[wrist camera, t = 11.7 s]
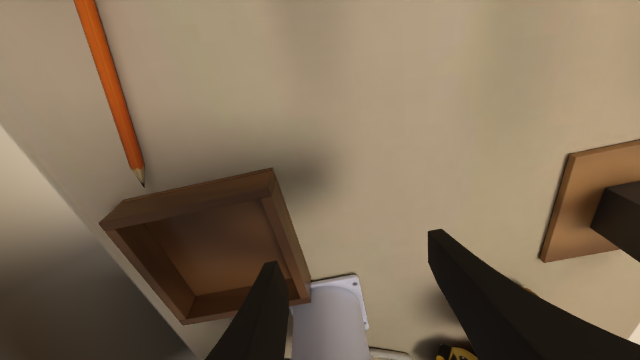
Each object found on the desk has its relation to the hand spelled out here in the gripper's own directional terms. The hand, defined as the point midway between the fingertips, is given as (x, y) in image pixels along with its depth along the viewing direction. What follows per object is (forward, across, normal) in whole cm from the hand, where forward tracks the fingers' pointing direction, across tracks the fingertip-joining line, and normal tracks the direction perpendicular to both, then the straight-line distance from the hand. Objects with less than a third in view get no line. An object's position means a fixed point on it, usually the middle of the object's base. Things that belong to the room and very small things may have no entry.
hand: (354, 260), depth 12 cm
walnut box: (+9, +11, +5) cm, 15 cm away
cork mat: (+9, -24, +9) cm, 27 cm away
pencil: (+9, +12, -11) cm, 19 cm away
